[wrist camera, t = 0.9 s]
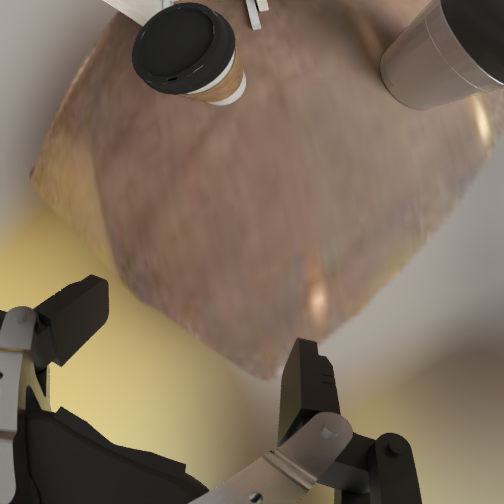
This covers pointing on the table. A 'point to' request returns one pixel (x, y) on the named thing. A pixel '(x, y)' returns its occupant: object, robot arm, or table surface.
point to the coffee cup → (190, 55)
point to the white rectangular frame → (150, 3)
